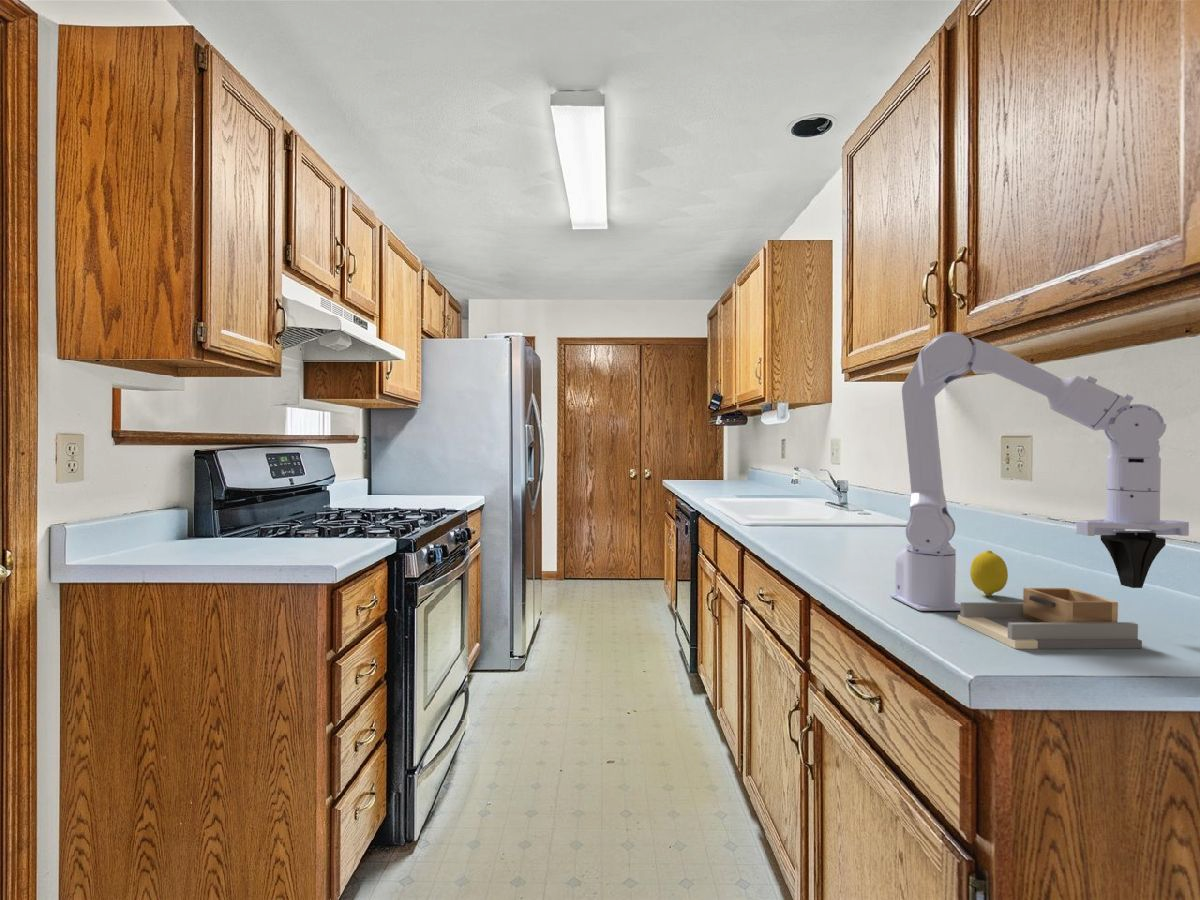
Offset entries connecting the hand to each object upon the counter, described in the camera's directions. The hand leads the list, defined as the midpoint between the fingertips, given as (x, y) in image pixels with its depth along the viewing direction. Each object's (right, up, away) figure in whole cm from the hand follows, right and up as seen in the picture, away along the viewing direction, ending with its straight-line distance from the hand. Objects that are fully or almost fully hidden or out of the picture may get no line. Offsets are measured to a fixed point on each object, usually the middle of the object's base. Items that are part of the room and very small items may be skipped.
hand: (1131, 586), depth 85 cm
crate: (-9, -5, 0) cm, 11 cm away
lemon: (-7, -7, +21) cm, 23 cm away
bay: (-13, -7, 0) cm, 14 cm away
